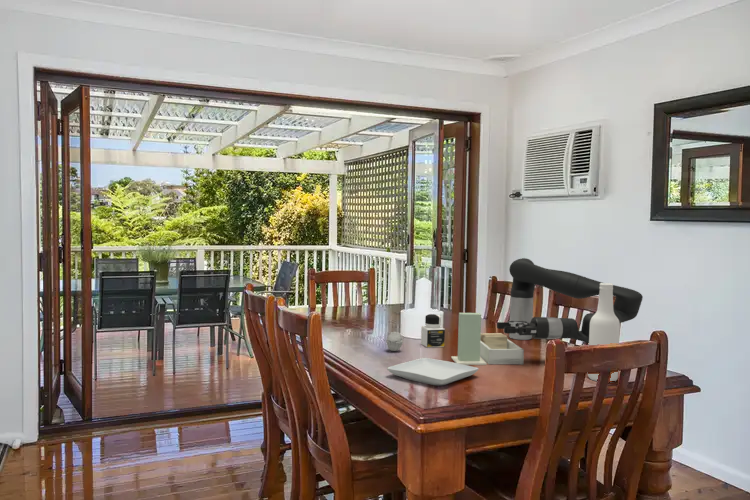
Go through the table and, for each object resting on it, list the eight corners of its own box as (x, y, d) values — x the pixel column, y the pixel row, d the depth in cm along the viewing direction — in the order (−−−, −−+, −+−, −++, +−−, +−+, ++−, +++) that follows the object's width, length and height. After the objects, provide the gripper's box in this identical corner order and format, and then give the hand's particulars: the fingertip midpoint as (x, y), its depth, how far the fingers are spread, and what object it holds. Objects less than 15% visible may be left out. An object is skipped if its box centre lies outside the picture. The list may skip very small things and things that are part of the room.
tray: (474, 351, 225) (474, 338, 225) (506, 351, 226) (506, 338, 226) (488, 364, 205) (489, 349, 205) (523, 364, 206) (523, 349, 206)
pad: (451, 358, 213) (451, 356, 213) (479, 358, 214) (479, 356, 214) (457, 364, 204) (457, 363, 203) (486, 364, 204) (486, 363, 204)
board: (457, 358, 210) (458, 312, 210) (477, 358, 211) (478, 312, 210) (459, 360, 207) (460, 314, 206) (479, 361, 207) (481, 314, 206)
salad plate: (424, 366, 203) (424, 355, 202) (480, 377, 189) (480, 366, 189) (384, 378, 186) (384, 367, 186) (442, 391, 173) (442, 379, 173)
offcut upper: (480, 340, 224) (480, 333, 224) (500, 339, 225) (501, 333, 225) (486, 343, 218) (486, 336, 218) (507, 343, 219) (507, 336, 219)
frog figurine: (404, 349, 225) (404, 331, 225) (400, 353, 219) (400, 334, 218) (388, 348, 227) (389, 330, 227) (383, 352, 220) (384, 333, 220)
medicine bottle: (427, 347, 230) (427, 316, 229) (420, 344, 237) (421, 313, 236) (444, 347, 232) (445, 316, 231) (437, 343, 239) (438, 313, 238)
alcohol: (610, 375, 194) (614, 282, 192) (622, 383, 185) (626, 285, 183) (583, 375, 193) (586, 281, 192) (594, 382, 184) (598, 284, 183)
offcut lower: (480, 346, 224) (480, 339, 224) (501, 346, 225) (501, 340, 225) (484, 350, 218) (485, 343, 218) (506, 350, 219) (506, 343, 219)
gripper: (553, 343, 204) (506, 342, 202) (538, 334, 218) (494, 334, 217) (554, 320, 203) (507, 320, 202) (539, 314, 217) (495, 313, 216)
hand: (500, 327), depth 209 cm, fingers open, 8 cm apart
